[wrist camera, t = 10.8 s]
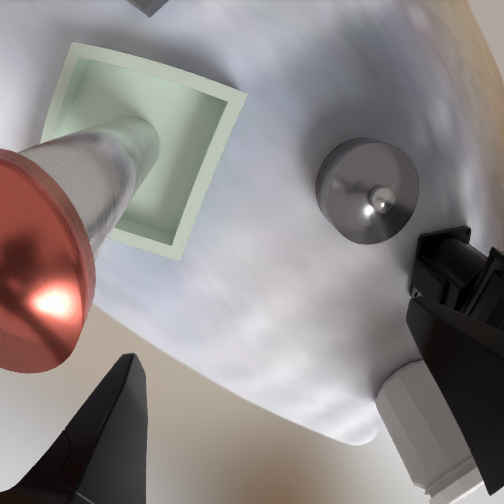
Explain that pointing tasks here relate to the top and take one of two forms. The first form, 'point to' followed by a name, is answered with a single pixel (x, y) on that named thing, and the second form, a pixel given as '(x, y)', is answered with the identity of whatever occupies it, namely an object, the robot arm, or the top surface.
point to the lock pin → (62, 233)
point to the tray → (165, 123)
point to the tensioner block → (148, 5)
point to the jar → (427, 435)
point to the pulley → (367, 190)
